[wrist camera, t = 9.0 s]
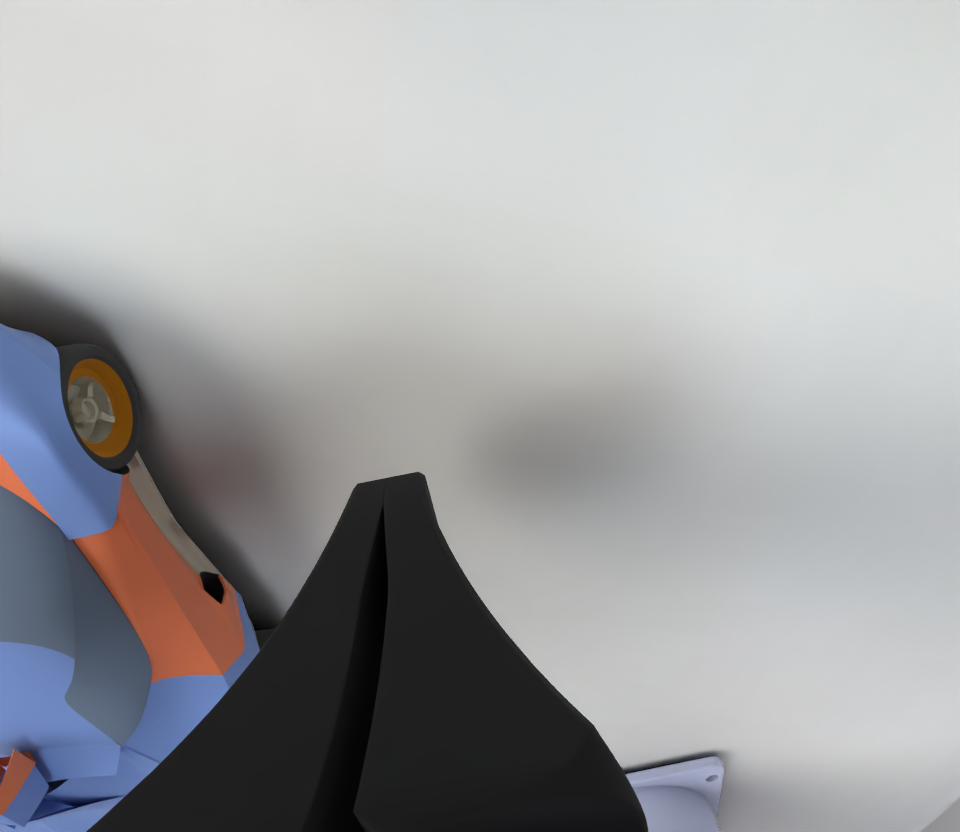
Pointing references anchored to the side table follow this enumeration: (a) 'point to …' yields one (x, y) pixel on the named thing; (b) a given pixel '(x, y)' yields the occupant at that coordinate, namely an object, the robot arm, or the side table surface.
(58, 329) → the side table surface
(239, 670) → the toy car
